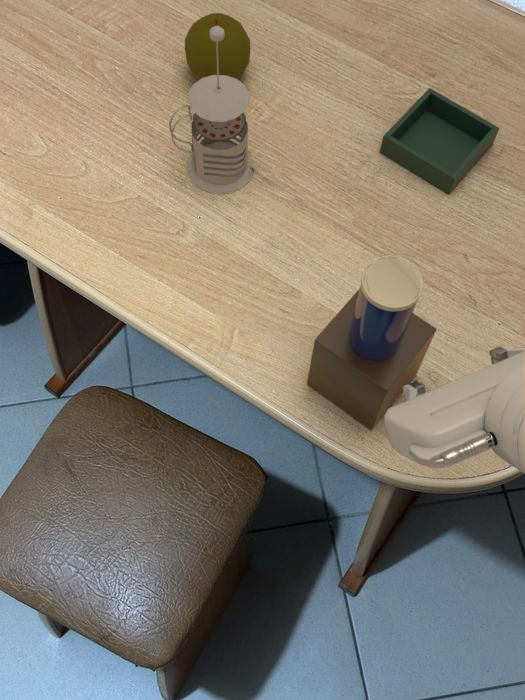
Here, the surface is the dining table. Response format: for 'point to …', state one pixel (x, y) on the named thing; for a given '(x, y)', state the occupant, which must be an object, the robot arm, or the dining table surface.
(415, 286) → the canister
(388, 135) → the bin
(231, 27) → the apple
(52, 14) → the dining table surface
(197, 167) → the french press
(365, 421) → the block
